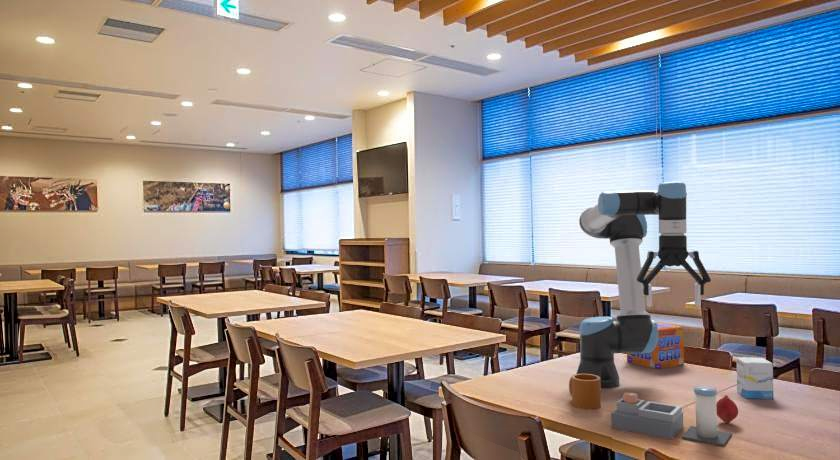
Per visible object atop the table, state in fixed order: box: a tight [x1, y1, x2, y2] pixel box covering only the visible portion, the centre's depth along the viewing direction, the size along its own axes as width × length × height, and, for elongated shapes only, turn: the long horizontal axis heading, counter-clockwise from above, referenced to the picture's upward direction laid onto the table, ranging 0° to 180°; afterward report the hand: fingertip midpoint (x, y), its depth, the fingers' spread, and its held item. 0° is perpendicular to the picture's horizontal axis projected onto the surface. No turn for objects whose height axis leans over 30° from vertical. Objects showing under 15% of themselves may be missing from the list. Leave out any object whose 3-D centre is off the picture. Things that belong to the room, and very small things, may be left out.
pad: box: [681, 425, 732, 448], centre depth 153 cm, size 10×10×1 cm
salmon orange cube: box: [623, 392, 638, 404], centre depth 164 cm, size 4×4×4 cm
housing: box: [610, 396, 684, 440], centre depth 162 cm, size 16×12×6 cm
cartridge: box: [693, 386, 718, 438], centre depth 153 cm, size 5×5×12 cm
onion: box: [716, 394, 739, 424], centre depth 164 cm, size 6×6×8 cm
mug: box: [568, 373, 602, 410], centre depth 184 cm, size 9×12×9 cm
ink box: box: [735, 356, 774, 400], centre depth 190 cm, size 8×8×12 cm
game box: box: [626, 321, 685, 370], centre depth 237 cm, size 16×16×16 cm
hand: (673, 306), depth 171 cm, fingers open, 13 cm apart
